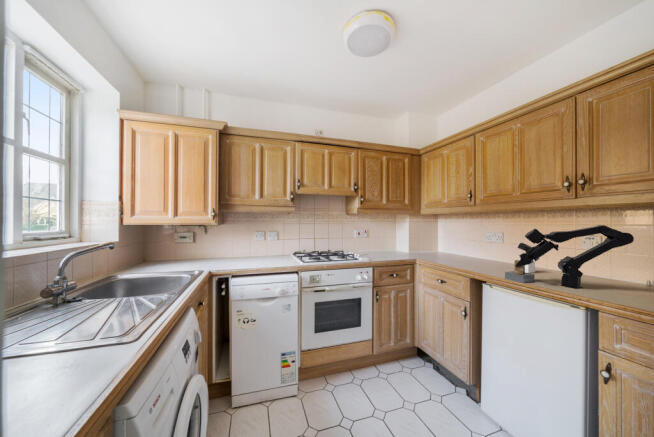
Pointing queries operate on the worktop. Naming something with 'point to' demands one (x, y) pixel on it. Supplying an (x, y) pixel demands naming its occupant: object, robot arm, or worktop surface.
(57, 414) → the worktop surface
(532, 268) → the medicine bottle
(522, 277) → the well block
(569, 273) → the robot arm
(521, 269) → the brown tall square block
